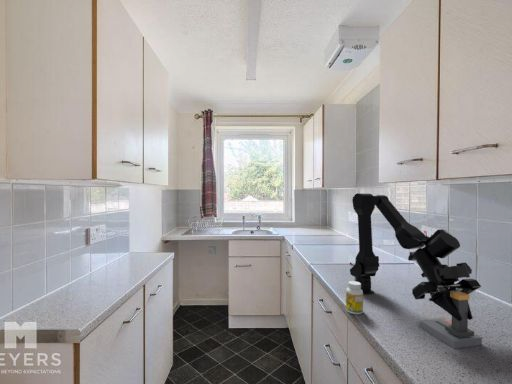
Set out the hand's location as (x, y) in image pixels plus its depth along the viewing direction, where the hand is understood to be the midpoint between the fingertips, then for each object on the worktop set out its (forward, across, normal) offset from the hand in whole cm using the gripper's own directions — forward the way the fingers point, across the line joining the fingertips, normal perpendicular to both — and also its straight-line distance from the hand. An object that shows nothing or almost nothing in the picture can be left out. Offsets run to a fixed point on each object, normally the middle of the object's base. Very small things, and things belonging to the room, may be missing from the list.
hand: (465, 319), depth 70 cm
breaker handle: (+2, 0, +4) cm, 5 cm away
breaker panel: (+1, 0, +8) cm, 8 cm away
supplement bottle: (-12, -18, +21) cm, 30 cm away
